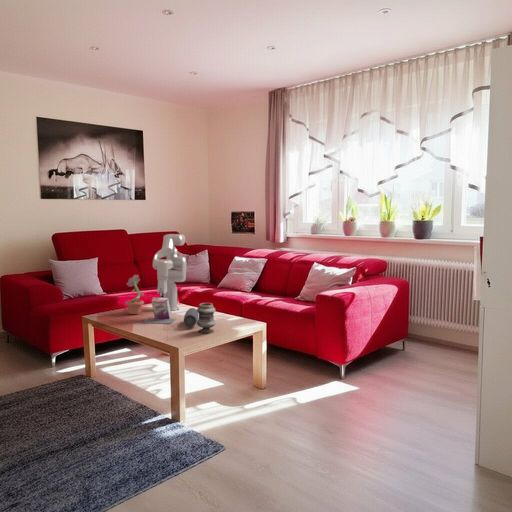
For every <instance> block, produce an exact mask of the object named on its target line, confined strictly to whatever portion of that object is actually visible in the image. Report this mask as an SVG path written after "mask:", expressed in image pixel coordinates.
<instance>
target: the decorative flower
mask: <svg viewBox="0 0 512 512" xmlns="http://www.w3.org/2000/svg"><path fill="white" fill-rule="evenodd" d="M140 281H141V278H140V276H139V274H134V275H133V276H132V277H129V278H128V282H126V283H125V284H126V286H128V288H129V287H133V286H134V289H132V291H131V293H134V292H135V291H136V293H137V296H136V297H134V298H133V299H131V300H127V301H125V302H124V305H125V306H127V309H128V314H129V315H130V314H137V315H140V314H141V312H142V305H144V304H145V302H144V301H143V300H142V299H140V297H141V296H145V294H144V293H143V292H141V291H140V290H139V287H138V286H137V285H138V284H139V282H140Z"/></svg>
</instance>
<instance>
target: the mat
mask: <svg viewBox="0 0 512 512" xmlns="http://www.w3.org/2000/svg"><path fill="white" fill-rule="evenodd" d="M176 320H177V318H170V319H159V318H155V317H154V318H151V317H150V318H149V317H148V318H147V319H146V320H145V321H144V322H142V324H145V325H146V324H147V325H148V324H151V325H152V324H153V325H155V324H156V325H172V324H174V322H175V321H176Z"/></svg>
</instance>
